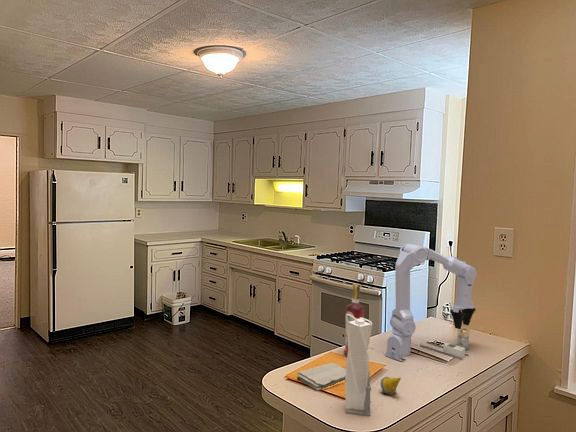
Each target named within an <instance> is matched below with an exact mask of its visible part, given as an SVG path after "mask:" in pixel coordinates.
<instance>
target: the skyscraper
mask: <svg viewBox="0 0 576 432" xmlns="http://www.w3.org/2000/svg"><path fill="white" fill-rule="evenodd" d="M347 316H351V317H352V318H354V319H355V321H351V322H348V317H347ZM346 318H347V332H348V349H349V350H348V355H346V362H345V369H346V374H345V383H344V384H345V385H344V387H345V388H344V389H345V391H344V392H345V395H344V397H345V414H351V415H356V416H357V415H358V416H363V417H364V416H366V417H371V402H372V401H371V391H372V386H371V377H370V376H371V375H370V374H371V371H370V359H369V353H368V348H369V343H370V339H371V335H372V330H373V326H374V325H373V322H372V321H371V320H370V319H367V318H365V317H364V318H362V317H360V319H356V318H355V317H354V316H352V315H350V314H346V313H345V319H346Z"/></svg>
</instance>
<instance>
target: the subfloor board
mask: <svg viewBox="0 0 576 432" xmlns="http://www.w3.org/2000/svg"><path fill="white" fill-rule="evenodd" d="M426 344H428V345H432V346H434V347H436V348H441V349H443V345H439V344H437V343H433V342H430V341H426ZM419 347H422V348H424V349H426V350H430V351H432V352H437V353H439V354H443V355H445V356H448V357H452V358H455V359H458V360H461V361H462V360H463V357H461V358H460V357H457V356H454V355H451V354H448V353H445V352H443V350H442V351H441V350H439V349H435V348H432V347H429V346H427V345H426V346H425V345H424V344H419ZM464 357H469V353H468V354H467V353H465V356H464Z"/></svg>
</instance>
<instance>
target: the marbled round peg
mask: <svg viewBox="0 0 576 432" xmlns="http://www.w3.org/2000/svg"><path fill="white" fill-rule="evenodd" d="M470 332H471V331H470V329H468V328H466V327H461V329H457V336H456V337H457V339H456V346H460V347H463V348H465V352H466V351H469V346H470V345H469V344H470V343H469V342H470Z"/></svg>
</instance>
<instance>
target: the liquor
mask: <svg viewBox="0 0 576 432" xmlns="http://www.w3.org/2000/svg"><path fill="white" fill-rule="evenodd" d="M360 289H361V285H360V284H359V283H352V298H351V303H349V304H347V305H346V306H345V315H346V314H350V315H352V316H354V317H355V318H356V319H360V317H362V318H365V310H366V309H365V307H364V306H363V305H362V304H360ZM347 317H348V322H351V321H355V319H354V318H352V317H351V316H347ZM344 345H345V348H344V350H343V352H344V354H345V355H346V356H347V355H348V350H349V349H348V332H347V318H346V317H345V343H344Z"/></svg>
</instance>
